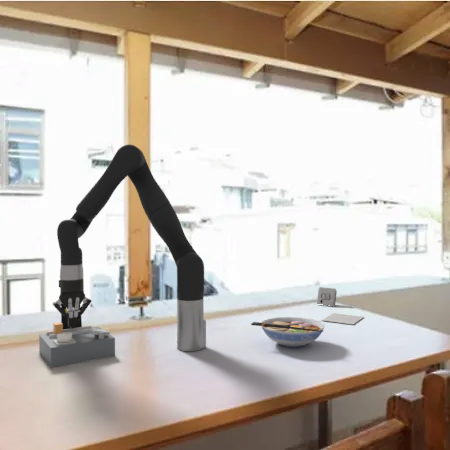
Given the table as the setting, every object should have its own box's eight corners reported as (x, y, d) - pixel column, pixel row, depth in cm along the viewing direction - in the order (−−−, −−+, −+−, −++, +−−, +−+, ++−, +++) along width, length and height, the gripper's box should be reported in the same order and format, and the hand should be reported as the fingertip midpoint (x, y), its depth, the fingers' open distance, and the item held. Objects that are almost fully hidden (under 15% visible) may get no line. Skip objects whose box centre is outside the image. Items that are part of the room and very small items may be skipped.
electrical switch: (316, 305, 225) (317, 287, 226) (320, 304, 229) (321, 286, 230) (333, 307, 219) (334, 288, 220) (337, 306, 224) (338, 288, 224)
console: (98, 342, 158) (98, 320, 158) (115, 355, 143) (114, 331, 143) (39, 352, 147) (39, 328, 147) (50, 367, 132) (50, 341, 132)
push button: (70, 337, 141) (69, 331, 141) (73, 340, 137) (73, 334, 137) (55, 339, 139) (55, 333, 139) (59, 343, 135) (58, 336, 135)
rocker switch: (105, 333, 147) (106, 329, 147) (109, 335, 144) (109, 332, 144) (88, 332, 144) (88, 328, 144) (91, 334, 141) (92, 330, 141)
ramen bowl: (333, 340, 160) (333, 318, 160) (319, 358, 140) (319, 333, 140) (269, 333, 171) (269, 312, 171) (247, 349, 150) (247, 325, 150)
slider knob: (60, 332, 149) (60, 322, 148) (62, 334, 146) (62, 323, 146) (53, 333, 147) (53, 323, 147) (55, 335, 145) (55, 324, 145)
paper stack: (385, 321, 192) (385, 319, 191) (370, 333, 171) (370, 332, 171) (334, 314, 204) (334, 313, 204) (314, 325, 183) (314, 324, 183)
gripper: (54, 280, 142) (54, 333, 142) (94, 277, 149) (95, 327, 150) (49, 278, 148) (49, 328, 148) (88, 274, 155) (88, 323, 156)
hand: (72, 327), depth 149 cm, fingers closed
